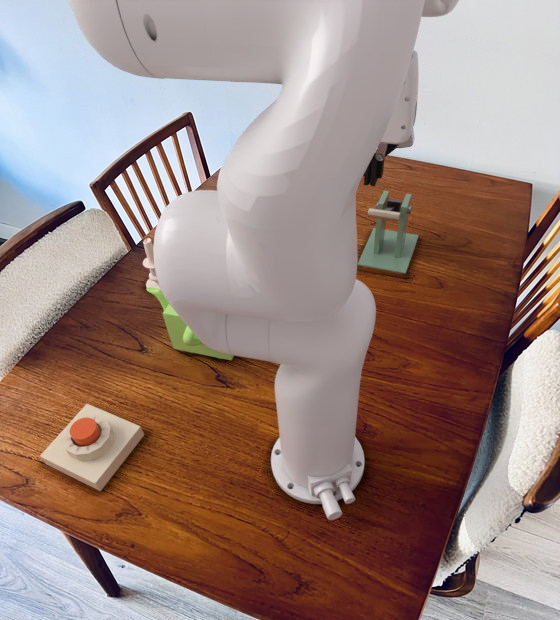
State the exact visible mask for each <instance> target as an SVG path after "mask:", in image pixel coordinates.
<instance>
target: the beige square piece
mask: <svg viewBox="0 0 560 620" xmlns="http://www.w3.org/2000/svg"><path fill="white" fill-rule="evenodd" d="M81 418H91V419H93V420H94V421H95V422H96V424H97V425H98V427H99V429H100V436H99V438H98V440H97V441H96V442H94V443H93V444H91V445H89V446H79V445H77V444H76V443H75V441H74V440H73V438H72V437H71V435H70V428H71V426H72V425H73V423H74V422H76V421H77V420H79V419H81ZM144 436H145V433H144V431H143V428H142V426H140V425H138V424H136V423H134V422H132V421H129V420H127V419H124V418H122V417H119V416H117V415H115V414H113V413H110V412H108V411H106V410H103V409H101V408H99V407H96V406H94V405H91V404H89V403H86V404H85V405H84V406H83V407H82V408H81V409H80V411H79V412H78V413H77V414H76V415H75V416H74V417H73V418H72V419H71V420H70V422H68V424H67V425H66V426H65V427H64V429H62V430H61V432H60V433H59V434H58V435H57V436H56V437H55V438H54V439H53V440H52V441H51V442H50V444H49V445H48V446H47V447H46V448H45V450H44V451H43V452H42V453H41V454H40V455H39V457H40V458H41V460H42V461H43V462H44V464H45V465H46V466H48V467H50V468H52V469H55V470H56V471H59V472H61V473H63V474H65V475H66V476H69V477H71V478H73V479H75V480H77V481H79V482H81V483H83V484H85V485H87V486H89V487H91V488H93V489H94V490H97V491H99V492H101V491H102V490H103V489H104V487H105V486H107V484H108V482H109V481H110V480H111V479H112V477H113V476H114V475H115V473H116V472H117V471H118V470H119V469H120V467H121V465H123V463H124V462H125V461H126V459H127V458H129V457H128V456H129V455H130V454H131V453H132V451H134V449H135V448H136V446H137V445H138V444H139V443H140V441H142V439H143V437H144Z"/></svg>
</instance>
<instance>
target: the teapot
mask: <svg viewBox="0 0 560 620" xmlns="http://www.w3.org/2000/svg"><path fill="white" fill-rule="evenodd" d="M145 290H146V291H147V292H148V293H150V294H152V296H154V297H155V298H156V299H157V300H158V301H159V303H160V305H161V307H162V309H163V312H162V317H163V320H164V324H165V327H166V330H167V334H168V336H169V339H170V343H171V346H172V349H173V350H178V351H183V352H187V353H190V354H198V355H201V356H202V355H203V356H207V357H213V358H217V359H220V360H228V361H233V359H234V357H235V356H234V355H229V354H224V353H220V352H217V351H214V350H212V349H210V348H209V347H207V346H206V345H205V344H203V343H202V342H201V341H200V340H199V339H198V337H197V336H196V335H195V334H194V333H193V332H192V331H191V329H190V328H189V327H188V326H187V325H186V323H185V322H184V321H183V320H182V319H181V318H180V316H179V315H178V314H177V313H176V312H175V311H174V309H173V308H172V307H171V305H170V304H169V303H168V301H167V300H166V298H165V296H164V295H163V293H162V291H161V290H160V289H157V288H153V287H148V288H147V287H146V289H145Z"/></svg>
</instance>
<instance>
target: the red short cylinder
mask: <svg viewBox="0 0 560 620" xmlns="http://www.w3.org/2000/svg"><path fill="white" fill-rule="evenodd" d="M70 435H71V437H72V438H73V440H74V441H75V443H76V444H77V445H79V446H89V445H91V444H93V443H94V442H96V441H97V440H98V438H99V436H100V429H99V427H98V425H97V424H96V422H95V421H94V420H93V419H91V418H81V419H79V420H77V421H76V422H74V423H73V425H72V426H71V428H70Z"/></svg>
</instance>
